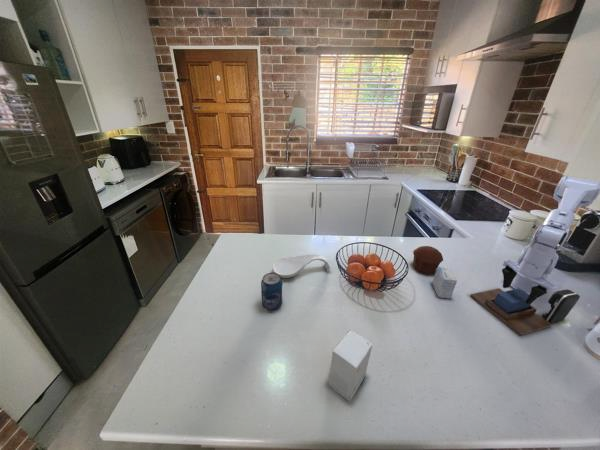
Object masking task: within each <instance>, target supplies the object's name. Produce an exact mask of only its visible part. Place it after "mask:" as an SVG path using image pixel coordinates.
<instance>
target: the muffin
mask: <svg viewBox="0 0 600 450" xmlns="http://www.w3.org/2000/svg"><path fill="white" fill-rule="evenodd" d="M412 254H413V263H412V265H413V268H414V270H416V271H417V272H419V273H420V274H424V275H433V274H434V273H436V271H437V268H438V267H440V264H441V263H442V262H443V261H444V257H443V253H441V252H440V250H439V249H437V248H435V247H434V246H430V245H422V246H421V245H420V246H419V247H417V248H415V249H414V250H413V251H412Z"/></svg>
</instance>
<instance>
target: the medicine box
mask: <svg viewBox="0 0 600 450" xmlns="http://www.w3.org/2000/svg"><path fill="white" fill-rule="evenodd" d="M457 282H458V280H457V278H456V276H455V275H454V273H453V270H452V269H451V268H450V267H446V266H438V268H437V269H436V271H435V274H434V278H433V280H432V283H431V284H432V286H433V288H434V291H435V293H436V295H437V298H442V299H448V300H449V299H451V298H452V295H453V292H454V290H455V288H456V285H457Z"/></svg>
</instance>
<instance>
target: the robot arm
mask: <svg viewBox="0 0 600 450" xmlns="http://www.w3.org/2000/svg"><path fill="white" fill-rule="evenodd" d="M599 195H600V181H597V180H591V179H586V178H579V177H578V178H577V177H573V176H568V175H564V176H562V177H561V178H560V179H559V182H558V183H557V185H556V187H555V188H554V193H553V195H552V196H553V200H555V201H556V202H558V207H557V208H555V209H552V210H551V211H550V212H549V213H548V215H547V216H546V218H545V219H544V221H543V222H542V224H541V225H539V226H538V227H537V228H536V230H535V232H534V234H533V236H532V238H531V241H530V244H528V245H526V246H524V248H523V250H522V252H521V253H520V255H519V256H518V258H517V261H516V262H514V261H512V260H510V259H507V260H504V261H503V263H502V266H503V268H502V269H501V272H502V277H503V278H502V279H503V282H502V288H504V289H508V288H510V287H511V288H512V289H513V290H514V289H519V288H520V289H521V290H523V291H524V292H526V293H527V294H529V297H528V298H527V300H526V302H525V303H527V304H530V303H531V304H532V303H534V302H535V301H536V300H537V299H538V298H540V297H542V296H543V295H545V294H553V293H554V292H556V291H557V288H558V287H557V286H555V285H554V284H553V283H551V282H550V281H549V280H548V279H547V278H548V275H551V274H552V272H553V270H554V269H555V267H556V265H557V263H558V260H559V255H558V253H557V251H558V250H560V249H561V248H562V247H563V245H564V243H565V242H566V241H567V238H568V237H569V232H570V229H571V227H572V225H573V223H574V221H575V220H576V215H575V211H577V210H578V209H580V208H582V207H589V206H590V205H592V204H593V203H594V201H596V200H597V198H598V196H599ZM558 245H559V246H558Z"/></svg>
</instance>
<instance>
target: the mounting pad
mask: <svg viewBox="0 0 600 450" xmlns="http://www.w3.org/2000/svg"><path fill="white" fill-rule="evenodd" d="M500 292H505V291H504V290H503V289H501V288H495V289H494V288H493V289H490V290H485V291H481V292H476V293H471V294H470V297H471V298H472V299H473V300H474V301H476V302H477V303H478V304H479V305H481V307H483V308H484V309H485V310H487V312H489V313H491V314H492V315H493V316H494V317H495V318H497V319H498V320H499V321H501V323H503V324H505V326H507V328H509V329H510V330H512V331H513V332H514V333H516V335H518V336H519V337H520V336H524V335H527V334H530V333H535V332H538V331H541V330H545V329H548V328H551V327H552V326H553V324H552V323H551V322H548V321H546V320H545V319H544V318H543V317H542V316H540V315H539V314H537V313H536V312H537V310H538V309H537V308H536V307H534V306H533V305H530V306H529V308H528V310H524V311H520V312H516V313H512V314H507V313H506V312H505V311H503V310H502V309H501V308H499V307H498V306H497V305H496V304H494V303H493V302H494V300H495V298H496V296H497V294H498V293H500Z"/></svg>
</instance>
